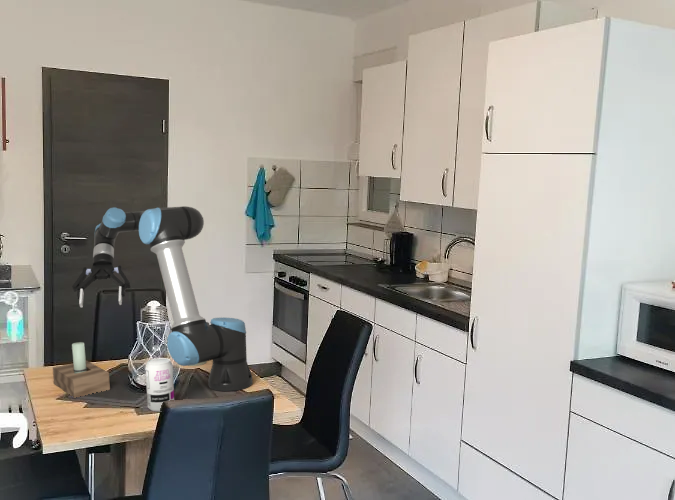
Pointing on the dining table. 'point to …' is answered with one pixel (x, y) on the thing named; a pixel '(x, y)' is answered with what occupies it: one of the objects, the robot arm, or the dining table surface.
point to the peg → (79, 357)
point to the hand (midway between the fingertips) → (100, 304)
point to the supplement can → (159, 382)
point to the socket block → (81, 379)
